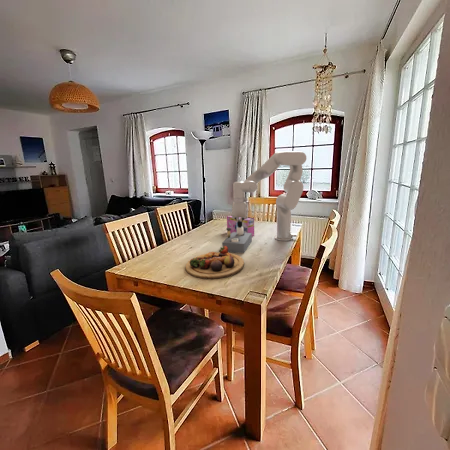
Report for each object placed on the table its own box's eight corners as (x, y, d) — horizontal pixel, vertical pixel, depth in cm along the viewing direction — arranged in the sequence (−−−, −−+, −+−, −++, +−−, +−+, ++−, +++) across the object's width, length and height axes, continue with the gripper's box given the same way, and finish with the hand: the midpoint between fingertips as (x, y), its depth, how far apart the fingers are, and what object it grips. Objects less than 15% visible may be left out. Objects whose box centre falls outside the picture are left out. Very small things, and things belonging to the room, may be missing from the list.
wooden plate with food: (213, 252, 157) (212, 239, 155) (255, 262, 137) (255, 248, 134) (173, 270, 133) (171, 256, 131) (217, 286, 113) (216, 270, 111)
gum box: (225, 232, 200) (225, 215, 196) (232, 230, 205) (232, 214, 202) (247, 237, 183) (247, 219, 179) (254, 235, 188) (254, 217, 185)
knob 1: (239, 248, 160) (239, 238, 158) (237, 250, 156) (237, 240, 154) (232, 247, 161) (232, 237, 160) (231, 249, 157) (230, 239, 156)
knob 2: (244, 235, 172) (243, 226, 170) (242, 237, 168) (242, 228, 166) (238, 235, 173) (237, 226, 172) (236, 237, 169) (236, 227, 167)
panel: (251, 241, 174) (251, 232, 173) (244, 253, 152) (243, 243, 150) (232, 240, 178) (232, 232, 177) (222, 251, 156) (222, 242, 155)
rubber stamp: (231, 236, 166) (231, 227, 165) (230, 237, 164) (230, 228, 162) (227, 236, 167) (227, 227, 166) (226, 237, 164) (225, 228, 163)
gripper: (251, 199, 166) (251, 226, 170) (230, 199, 170) (230, 225, 174) (249, 201, 159) (249, 228, 163) (226, 201, 163) (227, 228, 168)
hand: (239, 227), depth 169 cm, fingers closed
